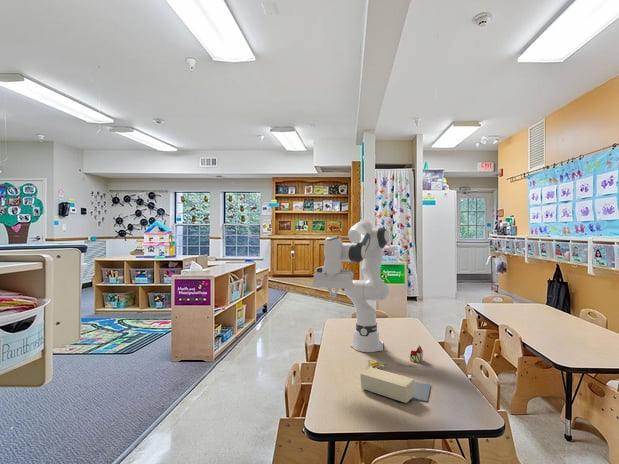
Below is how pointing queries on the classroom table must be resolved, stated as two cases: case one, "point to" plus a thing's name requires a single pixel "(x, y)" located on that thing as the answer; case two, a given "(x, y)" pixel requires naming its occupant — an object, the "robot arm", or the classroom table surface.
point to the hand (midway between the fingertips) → (333, 297)
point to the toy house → (417, 355)
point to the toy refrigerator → (388, 384)
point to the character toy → (374, 363)
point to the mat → (421, 392)
